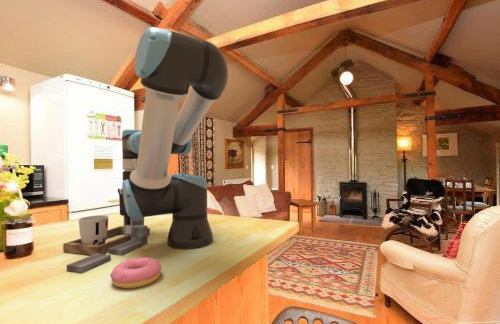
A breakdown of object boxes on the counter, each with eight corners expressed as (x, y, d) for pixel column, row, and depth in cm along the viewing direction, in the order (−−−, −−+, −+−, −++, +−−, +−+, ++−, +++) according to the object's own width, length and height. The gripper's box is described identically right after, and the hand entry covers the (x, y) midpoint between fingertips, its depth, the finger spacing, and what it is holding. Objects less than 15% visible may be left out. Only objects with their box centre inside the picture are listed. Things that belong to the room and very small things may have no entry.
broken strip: (148, 243, 89) (148, 225, 89) (81, 273, 65) (81, 249, 65) (136, 242, 91) (136, 224, 91) (66, 271, 67) (66, 247, 67)
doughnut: (167, 283, 60) (166, 264, 60) (112, 296, 54) (112, 276, 54) (156, 267, 69) (155, 251, 69) (108, 277, 63) (108, 260, 63)
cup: (94, 254, 79) (94, 221, 79) (72, 252, 81) (72, 220, 81) (114, 246, 87) (114, 215, 87) (93, 244, 89) (93, 214, 89)
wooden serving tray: (152, 233, 101) (151, 202, 101) (97, 255, 77) (96, 214, 77) (123, 231, 105) (123, 201, 105) (63, 251, 81) (62, 212, 81)
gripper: (140, 169, 110) (141, 225, 110) (107, 171, 94) (108, 237, 94) (156, 169, 108) (156, 227, 108) (124, 171, 92) (125, 238, 91)
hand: (134, 231), depth 101 cm, fingers closed on wooden serving tray, 4 cm apart
